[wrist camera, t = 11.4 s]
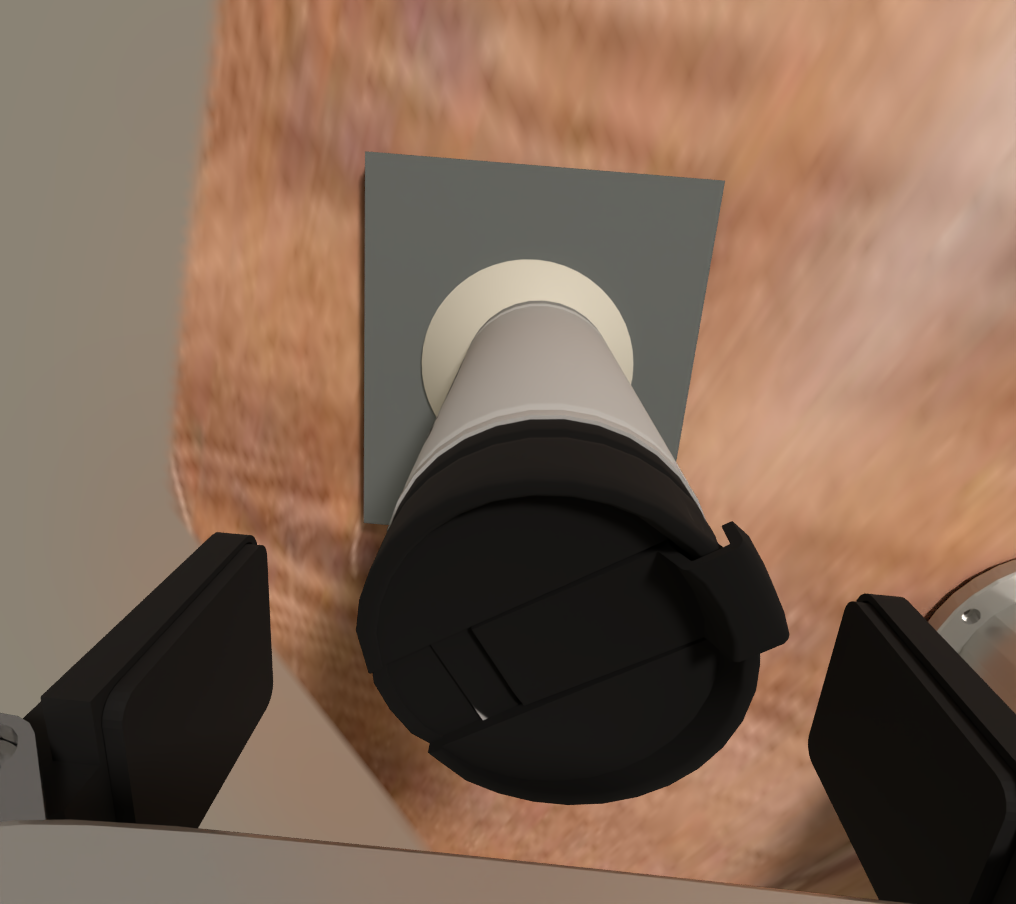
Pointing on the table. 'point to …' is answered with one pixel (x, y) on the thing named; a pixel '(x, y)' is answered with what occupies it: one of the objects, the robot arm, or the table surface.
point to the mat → (521, 283)
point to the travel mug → (561, 581)
